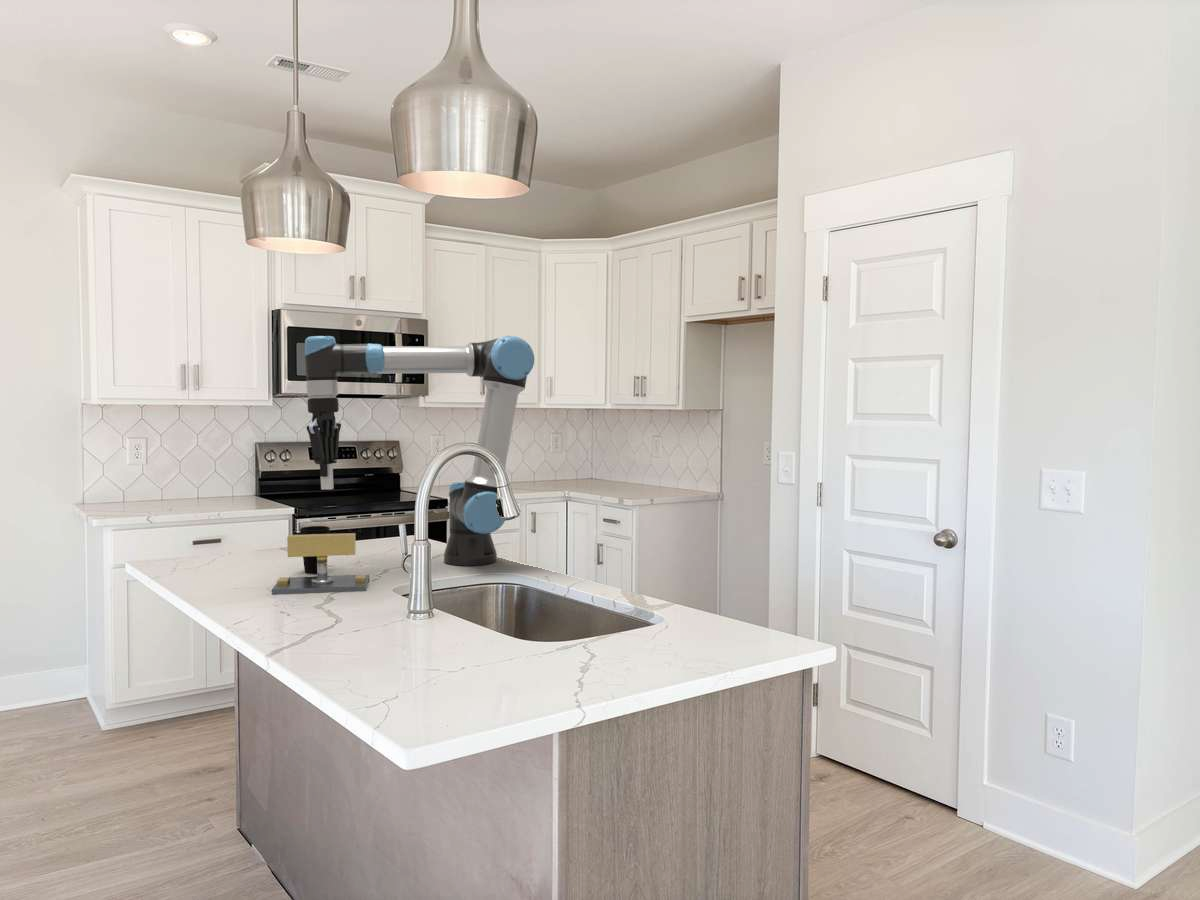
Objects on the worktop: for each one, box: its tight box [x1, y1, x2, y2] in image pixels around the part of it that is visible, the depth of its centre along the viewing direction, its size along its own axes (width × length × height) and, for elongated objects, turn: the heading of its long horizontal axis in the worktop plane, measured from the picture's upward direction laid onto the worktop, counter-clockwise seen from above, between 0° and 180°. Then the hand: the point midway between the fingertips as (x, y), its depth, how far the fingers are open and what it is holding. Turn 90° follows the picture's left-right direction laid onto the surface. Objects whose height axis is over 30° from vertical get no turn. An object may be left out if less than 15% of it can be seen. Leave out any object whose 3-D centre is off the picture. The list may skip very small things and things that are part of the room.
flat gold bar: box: [286, 532, 357, 562], centre depth 220 cm, size 3×16×7 cm, turn 102°
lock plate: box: [271, 561, 371, 595], centre depth 221 cm, size 22×14×6 cm, turn 101°
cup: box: [299, 525, 331, 575], centre depth 238 cm, size 8×8×12 cm
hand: (327, 489), depth 226 cm, fingers closed
